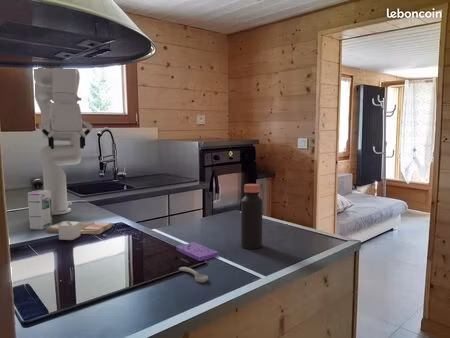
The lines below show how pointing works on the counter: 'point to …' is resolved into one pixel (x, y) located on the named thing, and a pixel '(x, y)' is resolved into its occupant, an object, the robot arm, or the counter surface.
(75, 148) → the robot arm
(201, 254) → the sponges
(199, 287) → the counter surface
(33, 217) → the syrup box
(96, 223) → the board
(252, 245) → the bottle
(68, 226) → the grey cube
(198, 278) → the spoon
